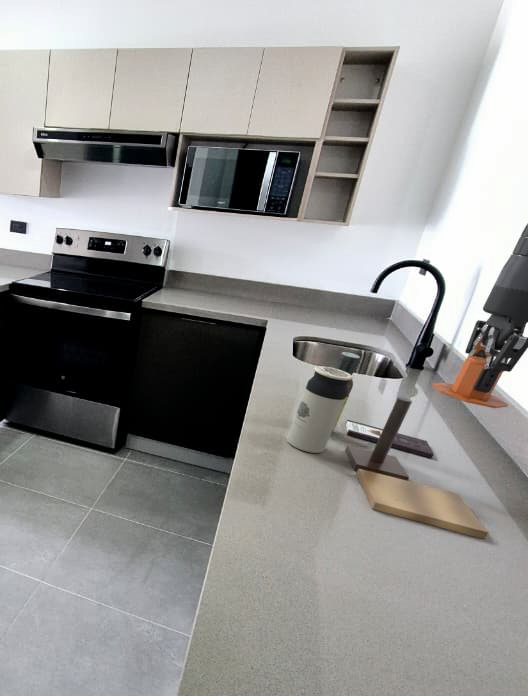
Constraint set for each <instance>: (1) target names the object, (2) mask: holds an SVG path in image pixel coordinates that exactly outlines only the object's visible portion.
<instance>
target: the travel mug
mask: <svg viewBox="0 0 528 696" xmlns="http://www.w3.org/2000/svg"><path fill="white" fill-rule="evenodd" d="M335 368H336V367H331V366H323V365H318V366H314V368H313V370H314V373H313V376H312V377H311V378H310V379H309V380H308V381H307V383H306V386H305V388H304V392H303V394H302V397H301V400H300V402H299V405H298V408H297V410H296V412H295V416H294V418H293V421H292V424H291V427H290V428H289V432H288V435H287V437H286V440H287V441H286V442H288V443H289V444H290V445H291V446H292V447H294V448H296V449H297V450H300V451H302V452H305V453H310V454H321V453H323V452H324V451H325V449H326V447H327V446H328V445H327V444H328V443H329V439H330V437H331V435H332V433H333V432H332V430H333V427H334V425H335V423H336V420H337V418H338V415H339V413H340V410H341V408H342V406H343V403H344V401H345V398H346V396H347V393H348V388H347V384H348V382H349V381H350V380H351V379H352V380H353V376H351V375H350V374H348V373H346V372H344V371H341V370H338V369H335ZM333 431H334V430H333ZM331 432H332V433H331Z"/></svg>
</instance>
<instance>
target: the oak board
mask: <svg viewBox="0 0 528 696" xmlns="http://www.w3.org/2000/svg"><path fill="white" fill-rule="evenodd" d="M355 475H356V478H357V479H359V480H358V482H359V484H360V486H361V488H362V490H363V492H364V494H366V495H365V496H366V500H367V501H368V504H369V506H370V507H371V509H372V510H374V511H378V512H382V513H384V514H389V515H393V516H396V517H401V518H404V519H408V520H411V521H416V522H419V523H423V524H427V525H430V526H434V527H436V528H437V527H438V528H441V529H445V530H449V531H453V532H456V533H459V534H464V535H468V536H471V537H473V538H474V537H475V538H479V539H483V540H486V538H487V536H488V534H489V531H488V530H487V528H486V527H485V525H483V524H482V522H481V521H480V520H479V518H477V516H476V515H475V514H474V512H473V511H472V510H471V508H470V507H469V506H468V504H466V502H465V501H464V500H463V498H462V497H461V496H460V495H459V494H458V493H457V492H454V491H450V490H446V489H443V488H438V487H434V486H430V485H426V484H421V483H418V482H414V481H410V480H408V481H406V480H402V479H398V478H394V477H390V476H386V475H382V474H379V473H375V472H371V471H367V470H363V469H358V471H356V474H355Z"/></svg>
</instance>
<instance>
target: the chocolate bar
mask: <svg viewBox="0 0 528 696" xmlns="http://www.w3.org/2000/svg"><path fill="white" fill-rule="evenodd" d="M345 428H346V433H347V434H346V435H347V436H350V437H353V438H358V439H361V440H365V441H369V442H372V443H375V444H377V442H378V439H379V437H380V435H381V433H382V431H383V429H384V428H380V427H376V426H374V425H369V424H366V423H361V422H358V421H354V420H351V419H346V421H345ZM391 448H393V449H397V450H401V451H405V452H408V453H411V454H416V455H418V456H422V457H426V458H429V459H433V457H434V452H433V450H432V448H431V446H430V444H429V443H428V440H424V439H421V438H418V437H414V436H410V435H407V434H403V433H399V432H398V433H397V435H396V437H395V439H394V441H393V443H392V446H391Z"/></svg>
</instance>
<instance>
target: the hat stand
mask: <svg viewBox="0 0 528 696" xmlns="http://www.w3.org/2000/svg"><path fill="white" fill-rule="evenodd" d="M412 403H413V400H411V399H410V398H408V397H407V398H406V397H404V396H397V398H396V400H395V403H394V404H393V406H392V408H391V411H390V413H389V415H388V418H387V420H386V422H385V424H384V426H383V428H382V429H383V431H382V433H381V435H380V437H379V439H378V442H377V443H375V447H374V449H373V450H369V449H365V448H361V447H357V446H352V445H349V444H347V445H346V447H345V449H344V451H345V454H346V457H347V458H348V460H349V462H351V463H350V465H351V467H352V468H353V471H356V470H357V471H358V469H363V470H367V471H371V472H375V473H379V474H382V475H386V476H390V477H394V478H398V479H402V480H406V481H409V479H410V476H409V474H408V473H407V472H406V470H405V468H404V467H403V466H402V464H401V463H400V461H399V460H398V458H397V456H394V455H390V454H389V452H390V450H391V448H392V447H391V446H392V443H393V441H394V439H395V437H396V435H397V433H399V431H400V430H401V429H400V428H401V426H402V424H403V422H404V421H405V418H406V416H407V414H408V412H409V410H410V408H411V405H412ZM357 471H356V472H357Z"/></svg>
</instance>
